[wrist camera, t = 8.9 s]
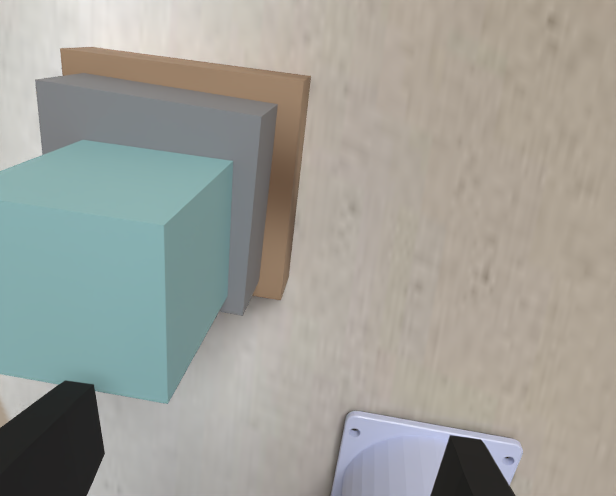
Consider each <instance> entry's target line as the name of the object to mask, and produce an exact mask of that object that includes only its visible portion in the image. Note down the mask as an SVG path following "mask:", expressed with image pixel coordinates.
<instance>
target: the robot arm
mask: <svg viewBox="0 0 616 496" xmlns="http://www.w3.org/2000/svg"><path fill="white" fill-rule="evenodd" d="M355 428H356V429H358V431H353V430H351V429H355ZM104 454H105V452H104V446H103V439H102V433H101V427H100V420H99V414H98V407H97V401H96V395H95V388H94V384H88V383H81V382H74V381H67V380H65V381H63V382H62V383H61V384H59V385H58V386H56V387H55V388H54V389H52V390H51V391H50V392H48V393H47V394H45V395H44V396H43V397H41V398H40V399H39V400H37V401H36V402H35V403H33V404H32V405H31V406H29V407H28V408H27V409H25V410H24V411H22V412H21V413H20V414H18V415H17V416H16V417H14V418H13V419H12V420H10V421H9V422H8V423H6V424H5V425H4V426H2V427H1V428H0V496H87V493H88V491H89V489H90V487H91V485H92V482H93V480H94V478H95V475H96V473H97V471H98V468H99V466H100V463H101V461H102V459H103V456H104ZM522 454H523V450H522V447H521V444H520V442H518V441H517V440H515V439H511V438H506V437H500V436H495V435H489V434H484V433H478V432H472V431H467V430H461V429H456V428H450V427H445V426H439V425H434V424H428V423H423V422H417V421H411V420H406V419H400V418H395V417H389V416H384V415H378V414H373V413H367V412H361V411H352V412H350V413H348V414H347V416H346V420H345V425H344V430H343V435H342V440H341V445H340V450H339V455H338V460H337V465H336V470H335V475H334V481H333V486H332V491H331V496H515V494H514V492H513V491H512V489H511V487H510V483H511V481H512V478H513V476H514V473H515V471H516V469H517V466H518V464H519V461H520V459H521V457H522ZM505 457H509V458H505Z"/></svg>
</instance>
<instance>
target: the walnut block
mask: <svg viewBox="0 0 616 496" xmlns="http://www.w3.org/2000/svg"><path fill="white" fill-rule="evenodd" d="M60 52H61V63H62V74H63V76H66V75H73V74H80V73H87V74H93V75H99V76H106V77H112V78H118V79H124V80H131V81H137V82H143V83H149V84H155V85H162V86H168V87H174V88H180V89H187V90H193V91H199V92H205V93H211V94H218V95H224V96H230V97H236V98H243V99H249V100H255V101H261V102H267V103H274V104H278V108H277V117H276V126H275V136H274V145H273V154H272V164H271V173H270V183H269V192H268V201H267V211H266V220H265V230H264V239H263V248H262V258H261V267H260V276H259V282H258V284H257V286H256V288H255V290H254V293H253V295H252V296H258V297H264V298H270V299H276V300H281V298H282V295H283V292H284V289H285V286H286V283H287V280H288V278H289V269H290V260H291V251H292V242H293V233H294V224H295V215H296V206H297V197H298V188H299V179H300V170H301V161H302V152H303V143H304V134H305V125H306V116H307V107H308V98H309V89H310V80H311V76H305V75H298V74H290V73H283V72H275V71H268V70H260V69H253V68H245V67H238V66H230V65H223V64H215V63H208V62H200V61H193V60H185V59H178V58H170V57H163V56H155V55H148V54H140V53H133V52H125V51H118V50H110V49H103V48H95V47H81V48H60Z"/></svg>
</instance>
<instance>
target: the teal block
mask: <svg viewBox="0 0 616 496" xmlns="http://www.w3.org/2000/svg"><path fill="white" fill-rule="evenodd" d="M232 177H233V161H230V160H223V159H216V158H209V157H202V156H195V155H188V154H181V153H173V152H166V151H159V150H152V149H145V148H138V147H131V146H124V145H117V144H109V143H102V142H95V141H88V140H81V141H78V142H76V143H73V144H70V145H68V146H65V147H63V148H60V149H57V150H55V151H52V152H49V153H47V154H44V155H42V156H39V157H36V158H34V159H31V160H28V161H26V162H23V163H21V164H18V165H15V166H13V167H10V168H7V169H5V170H2V171H0V374H3V375H9V376H14V377H20V378H25V379H31V380H37V381H42V382H48V383H53V384H61V383H62V382H63V381H65V380H67V381H74V382H81V383H88V384H94V388H95V391H98V392H104V393H109V394H115V395H121V396H126V397H132V398H138V399H143V400H149V401H154V402H160V403H166V404H168V403H169V401H170V399H171V397H172V395H173V394H174V392H175V390H176V388H177V386H178V385H179V383H180V381H181V379H182V377H183V375H184V374H185V372H186V370H187V368H188V366H189V365H190V363H191V361H192V359H193V357H194V356H195V354H196V352H197V350H198V348H199V347H200V345H201V343H202V341H203V339H204V338H205V336H206V334H207V332H208V330H209V328H210V327H211V325H212V323H213V321H214V319H215V318H216V316H217V314H218V312H219V310H220V309H221V307H222V305H223V303H224V301H225V300H226V298H227V295H228V272H229V248H230V224H231V201H232Z"/></svg>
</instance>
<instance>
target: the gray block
mask: <svg viewBox="0 0 616 496" xmlns="http://www.w3.org/2000/svg"><path fill="white" fill-rule="evenodd" d="M35 82H36V92H37V102H38V112H39V123H40V133H41V143H42V153H43V155H44V154H47V153H49V152H52V151H55V150H57V149H60V148H63V147H65V146H68V145H70V144H73V143H76V142H78V141H81V140H88V141H95V142H102V143H109V144H117V145H124V146H131V147H138V148H145V149H152V150H159V151H166V152H173V153H181V154H188V155H195V156H202V157H209V158H216V159H223V160H230V161H233V177H232V201H231V224H230V248H229V272H228V295H227V298H226V300H225V301H224V303H223V305H222V307H221V309H220V310H219V311H220V312H225V313H230V314H236V315H241V316H243V314H244V312H245V310H246V308H247V306H248V303H249V301H250V299H251V297H252V295H253V293H254V290H255V288H256V286H257V284H258V282H259V276H260V267H261V258H262V248H263V239H264V230H265V220H266V211H267V201H268V192H269V183H270V173H271V164H272V154H273V145H274V136H275V126H276V117H277V108H278V104H274V103H267V102H261V101H255V100H249V99H243V98H236V97H230V96H224V95H218V94H211V93H205V92H199V91H193V90H187V89H180V88H174V87H168V86H162V85H155V84H149V83H143V82H137V81H131V80H124V79H118V78H112V77H106V76H99V75H93V74H87V73H80V74H73V75H66V76H58V77H51V78H44V79H37V80H35Z"/></svg>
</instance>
